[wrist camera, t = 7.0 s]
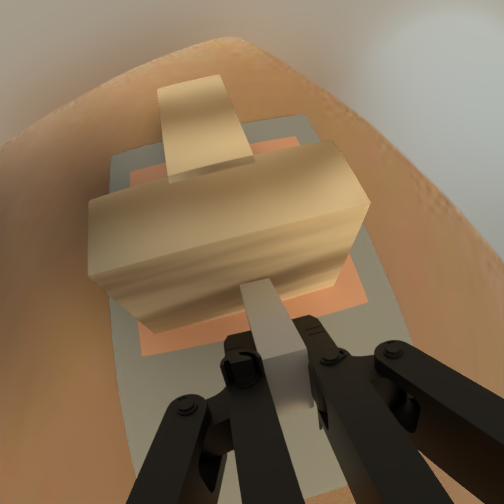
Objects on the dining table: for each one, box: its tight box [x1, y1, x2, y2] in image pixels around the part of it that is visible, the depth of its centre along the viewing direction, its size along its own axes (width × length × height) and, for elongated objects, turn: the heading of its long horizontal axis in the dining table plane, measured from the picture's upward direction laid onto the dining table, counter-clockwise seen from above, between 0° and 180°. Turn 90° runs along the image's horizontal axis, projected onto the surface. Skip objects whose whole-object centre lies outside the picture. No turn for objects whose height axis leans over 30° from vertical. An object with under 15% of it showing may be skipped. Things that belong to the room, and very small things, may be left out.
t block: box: [87, 74, 371, 334], centre depth 19 cm, size 12×12×9 cm
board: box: [109, 114, 422, 504], centre depth 22 cm, size 30×19×2 cm, turn 13°
